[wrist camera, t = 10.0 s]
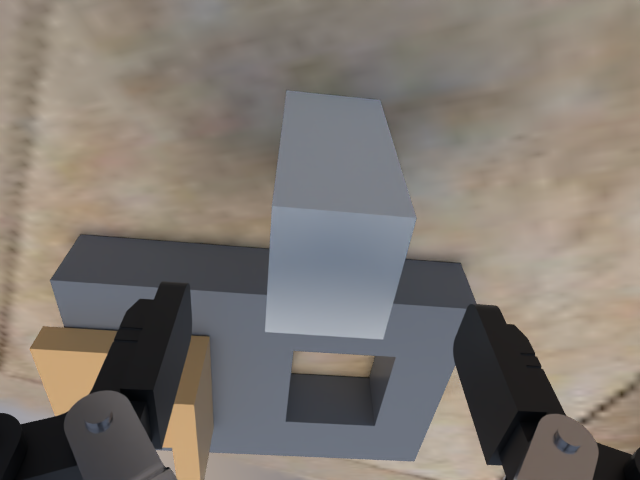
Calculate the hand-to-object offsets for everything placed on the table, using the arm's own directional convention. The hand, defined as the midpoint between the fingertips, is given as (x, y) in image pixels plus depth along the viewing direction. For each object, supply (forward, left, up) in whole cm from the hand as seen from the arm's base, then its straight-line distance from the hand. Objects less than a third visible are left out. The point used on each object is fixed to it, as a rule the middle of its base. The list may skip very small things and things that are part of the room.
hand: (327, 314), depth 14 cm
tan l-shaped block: (+13, -9, -6) cm, 17 cm away
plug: (0, 0, -10) cm, 10 cm away
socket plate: (+13, -2, -10) cm, 16 cm away
